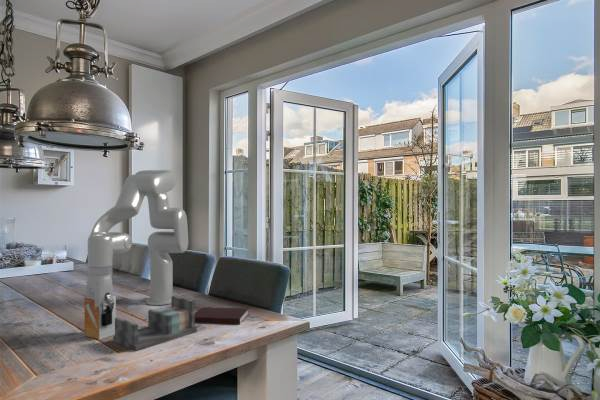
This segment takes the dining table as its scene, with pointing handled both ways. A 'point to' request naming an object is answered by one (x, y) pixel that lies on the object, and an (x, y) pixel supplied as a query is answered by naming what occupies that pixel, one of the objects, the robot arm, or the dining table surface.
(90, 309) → the small box
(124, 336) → the rack
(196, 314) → the book
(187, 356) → the dining table surface
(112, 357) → the dining table surface
